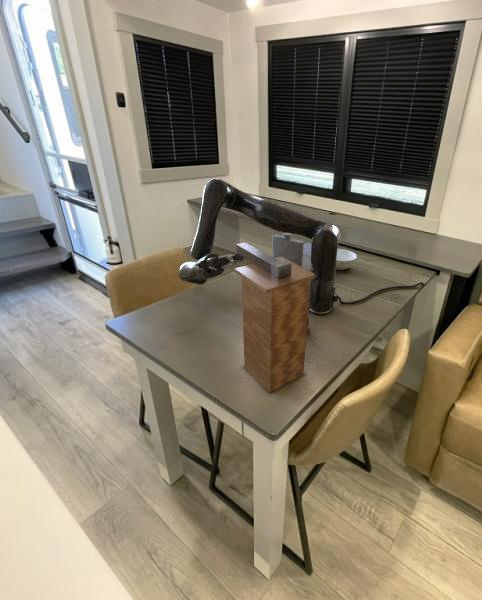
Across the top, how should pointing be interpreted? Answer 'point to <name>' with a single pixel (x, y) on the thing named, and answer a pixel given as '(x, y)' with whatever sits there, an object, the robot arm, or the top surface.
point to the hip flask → (288, 248)
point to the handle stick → (265, 260)
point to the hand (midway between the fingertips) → (229, 257)
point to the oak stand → (275, 323)
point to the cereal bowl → (345, 259)
